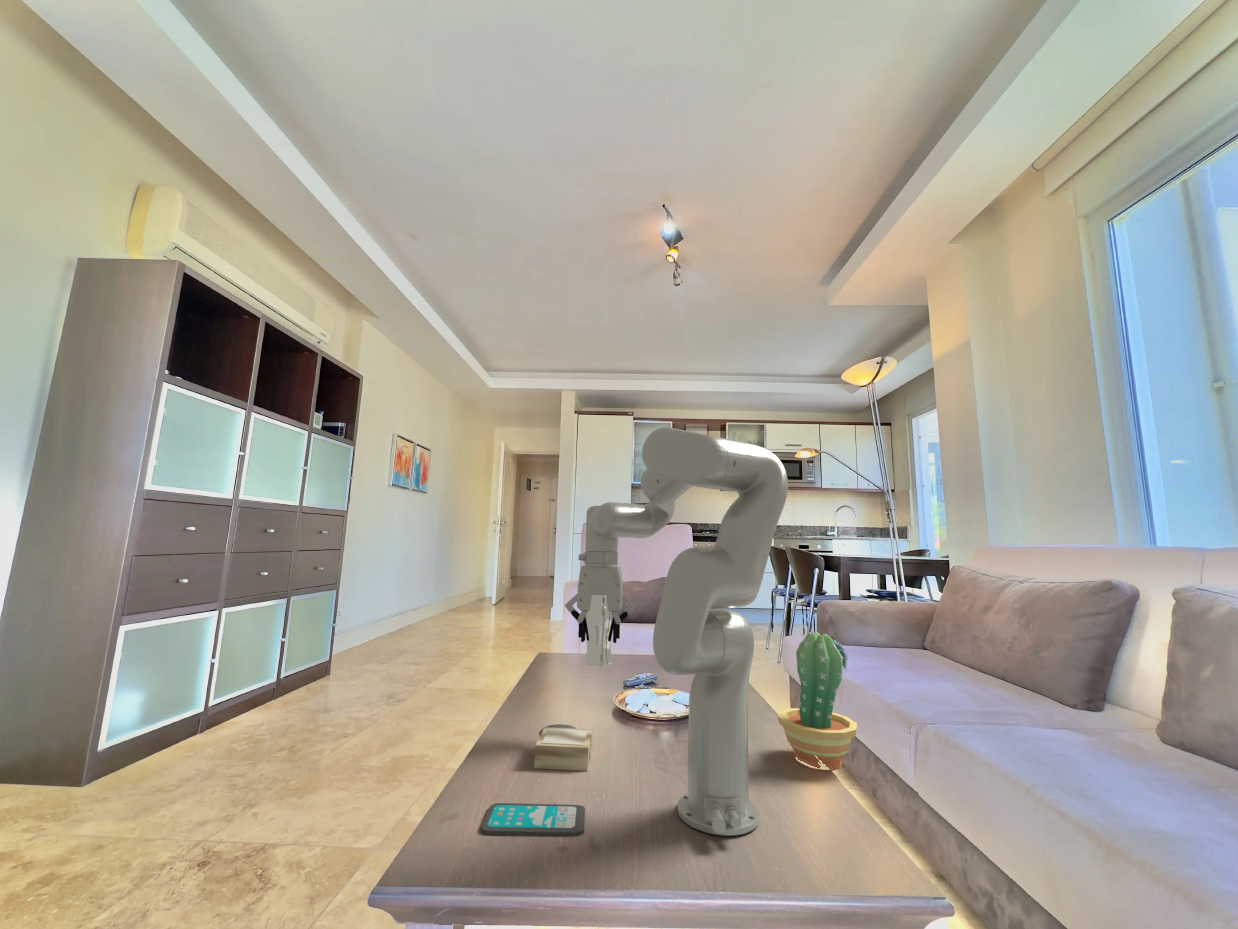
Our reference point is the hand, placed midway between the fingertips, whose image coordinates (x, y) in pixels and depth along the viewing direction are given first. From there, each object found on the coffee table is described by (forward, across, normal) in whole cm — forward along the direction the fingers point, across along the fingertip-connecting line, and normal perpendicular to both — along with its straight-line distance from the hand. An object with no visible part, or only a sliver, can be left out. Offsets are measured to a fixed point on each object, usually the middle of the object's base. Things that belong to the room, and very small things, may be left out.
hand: (598, 640), depth 115 cm
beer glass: (+5, 0, 0) cm, 5 cm away
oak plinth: (+21, -6, -10) cm, 24 cm away
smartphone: (+22, -7, -34) cm, 41 cm away
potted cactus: (+21, +46, -5) cm, 51 cm away
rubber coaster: (+21, -8, +4) cm, 23 cm away
